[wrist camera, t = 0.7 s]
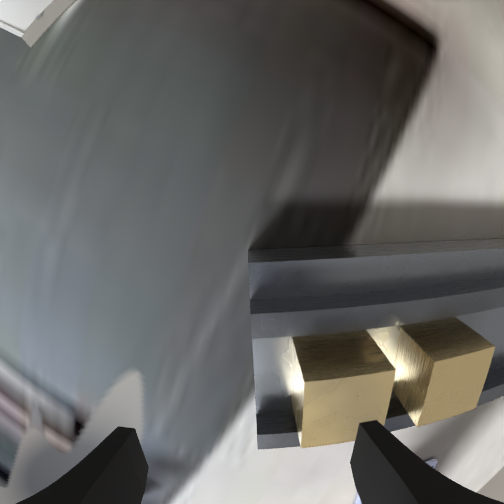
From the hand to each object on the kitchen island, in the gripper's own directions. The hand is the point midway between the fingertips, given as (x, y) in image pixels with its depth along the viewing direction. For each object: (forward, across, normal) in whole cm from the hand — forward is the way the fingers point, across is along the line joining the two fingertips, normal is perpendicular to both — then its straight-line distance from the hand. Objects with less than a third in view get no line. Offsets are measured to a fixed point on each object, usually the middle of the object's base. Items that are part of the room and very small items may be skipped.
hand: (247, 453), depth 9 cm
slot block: (+10, -10, +1) cm, 15 cm away
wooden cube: (+7, -4, +2) cm, 9 cm away
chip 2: (+7, -10, +1) cm, 13 cm away
